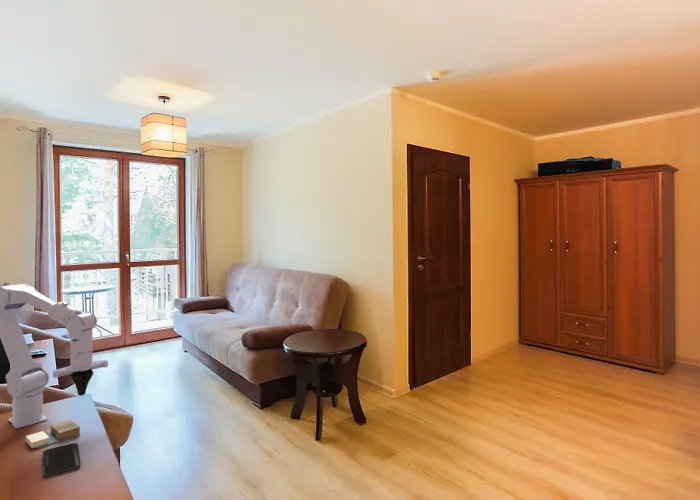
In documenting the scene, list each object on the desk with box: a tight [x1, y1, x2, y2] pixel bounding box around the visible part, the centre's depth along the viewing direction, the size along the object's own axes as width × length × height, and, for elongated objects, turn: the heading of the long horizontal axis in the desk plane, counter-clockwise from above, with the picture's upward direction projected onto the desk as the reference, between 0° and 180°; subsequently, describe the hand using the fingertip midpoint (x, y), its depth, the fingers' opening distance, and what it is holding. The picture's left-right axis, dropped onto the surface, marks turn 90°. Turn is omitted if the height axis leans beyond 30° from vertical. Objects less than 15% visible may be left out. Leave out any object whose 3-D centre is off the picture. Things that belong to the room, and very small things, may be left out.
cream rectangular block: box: [25, 430, 49, 449], centre depth 114 cm, size 6×4×2 cm, turn 52°
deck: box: [50, 418, 81, 443], centre depth 119 cm, size 8×5×2 cm, turn 52°
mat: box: [34, 432, 59, 450], centre depth 115 cm, size 8×5×1 cm, turn 52°
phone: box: [41, 442, 82, 479], centre depth 105 cm, size 8×1×15 cm
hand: (81, 394), depth 126 cm, fingers closed
